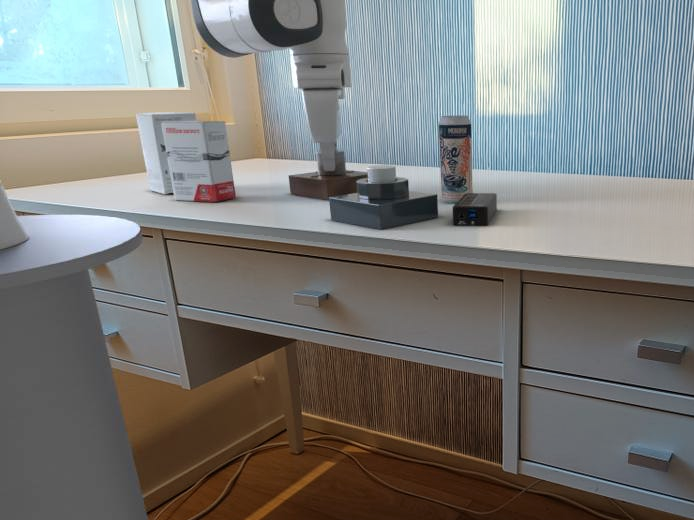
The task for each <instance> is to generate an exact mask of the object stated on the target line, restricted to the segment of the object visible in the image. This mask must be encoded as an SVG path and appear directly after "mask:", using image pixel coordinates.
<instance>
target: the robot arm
mask: <svg viewBox="0 0 694 520" xmlns="http://www.w3.org/2000/svg"><path fill="white" fill-rule="evenodd" d="M190 2H191V11H192V16H193V21H194V24H195V27H196V29H197V31H198V33H199V35H200V37H201V38H202V40H203V41H204V42H205V44H206V45H207V46H208V47H209V48H210V49H211V50H213V51H214V52H215V53H217V54H219V55H220V56H223V57H226V58H233V59H236V58H241V57H244V56H248V55H252V54H260V53H270V52H276V51H284V50H288V49H289V55H290V65H291V72H292V73H291V74H292V83H293V84H292V85H293V88H294V89H298V90H301V95H302V101H303V107H304V113H305V117H306V122H307V128H308V131H309V135H310V139H311V141H312V143H314V144H319V151H321V155H322V159H323V168H324V170H325V171H334V170H335V157H334V150H338V149H337V146H338V145H337V140H338V139H339V138H340V136H341V134H342V121H341V111H340V101H339V100H345V88H352V86H353V84H352V71H351V60H350V59H351V58H350V57H351V56H350V51H349V48H348V44H347V40H346V31H347V30H346V29H347V26H348V25H347V24H348V23H347V22H348V21H347V9H346V1H345V0H190ZM17 216H18V215H17V212H16V211H15V209H14V208H13V205H12V203H11V200H10V199H9V196H8V194H7V192H6V190H5V187H4V185H3V183H2V181H1V179H0V250H1V249H4V248H8V247H11V246H14V245H17V244H19V243H22V242H24V241H26V240H27V239H28V238H29V235H28V233H27V232H26V230H25V229H24V227H23V225H22V224H21V222H20V220H19V219H18V217H17Z"/></svg>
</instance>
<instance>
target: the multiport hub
mask: <svg viewBox="0 0 694 520" xmlns="http://www.w3.org/2000/svg"><path fill="white" fill-rule="evenodd" d="M497 197H498V196H497V193H494V192H489V193H488V192H473V193H466V194H464V196H463V197H462V198H461V199H460V200H459V201H458V202H457V203H454V204H453V206H452V225H453V226H484V227H485V226H488V225H489V224H490V222H491V221H492V219H493V217H494V216H495V214H496V213H497V211H498V201H497V200H498V199H497Z"/></svg>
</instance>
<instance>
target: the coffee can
mask: <svg viewBox="0 0 694 520" xmlns="http://www.w3.org/2000/svg"><path fill="white" fill-rule="evenodd" d="M472 137H473V136H472V122H471V119H470V116H469V115H441V116H440V119H439V121H438V144H439V168H440V169H439V170H440V171H439V172H440V196H441V197H440V199H441V200H442V201H444V202H445V203H448V204H449V203H450V204H456V203H457V202H458V201H459V200H460V199H461V198H462V197H463V196H464V194H466V193H474V191H473V190H474V189H473V187H474V186H473V145H472V144H473V142H472V141H473V139H472Z"/></svg>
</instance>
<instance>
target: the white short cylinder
mask: <svg viewBox="0 0 694 520" xmlns="http://www.w3.org/2000/svg"><path fill="white" fill-rule="evenodd" d="M396 171H397V169H396V166H395V165H391V164H390V165H389V164H388V165H387V164H385V165H384V164H382V165H381V164H380V165H370V166H367V168H366V172H368V182H392V181H396V177H397V172H396Z"/></svg>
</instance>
